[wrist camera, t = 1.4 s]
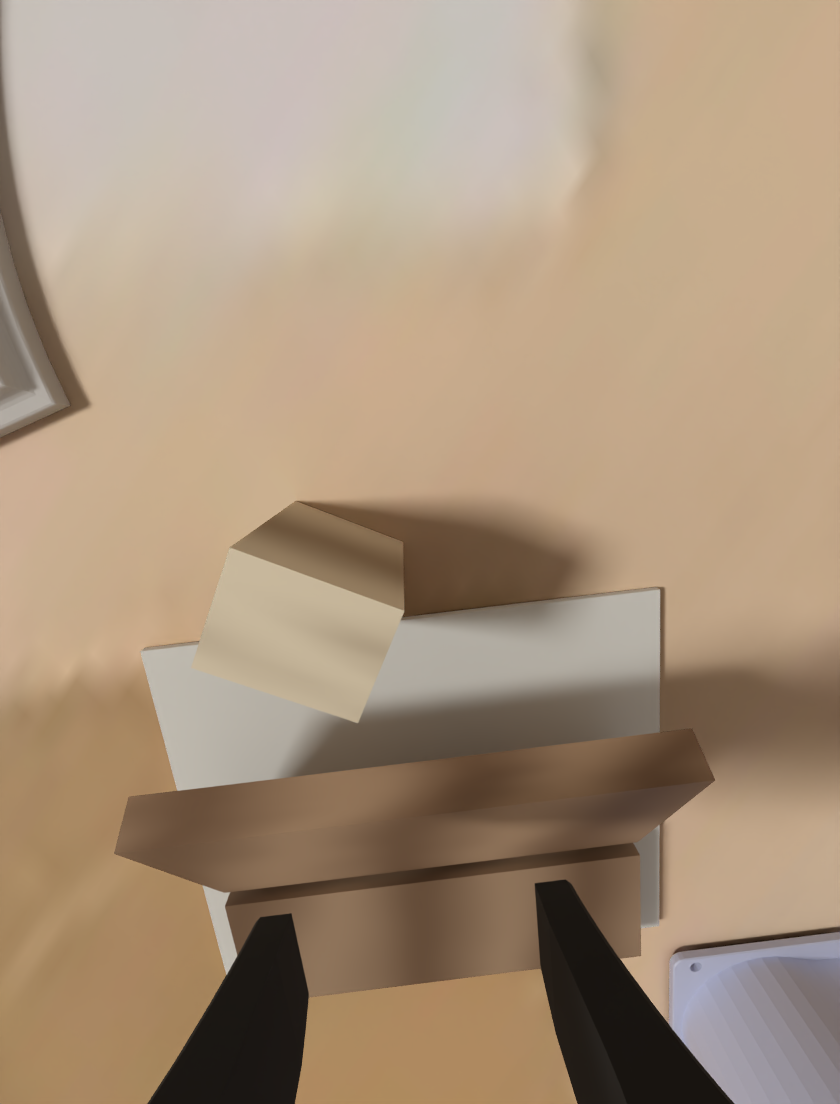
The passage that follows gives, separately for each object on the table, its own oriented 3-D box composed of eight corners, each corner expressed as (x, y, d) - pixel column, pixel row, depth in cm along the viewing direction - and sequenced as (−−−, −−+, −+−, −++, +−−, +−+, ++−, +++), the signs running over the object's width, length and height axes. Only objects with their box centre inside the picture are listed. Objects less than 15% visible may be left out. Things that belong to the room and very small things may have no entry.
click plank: (692, 728, 14) (715, 780, 14) (624, 803, 21) (637, 841, 20) (128, 796, 14) (114, 853, 13) (229, 851, 20) (224, 893, 20)
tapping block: (269, 578, 18) (295, 500, 18) (373, 616, 19) (403, 541, 18) (190, 668, 11) (229, 547, 11) (357, 722, 12) (404, 611, 11)
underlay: (656, 587, 19) (660, 589, 19) (655, 919, 23) (659, 926, 22) (144, 647, 19) (140, 651, 18) (230, 972, 22) (227, 979, 22)
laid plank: (623, 825, 21) (640, 855, 20) (625, 921, 22) (641, 955, 21) (236, 873, 21) (224, 906, 19) (259, 966, 22) (249, 1004, 21)
